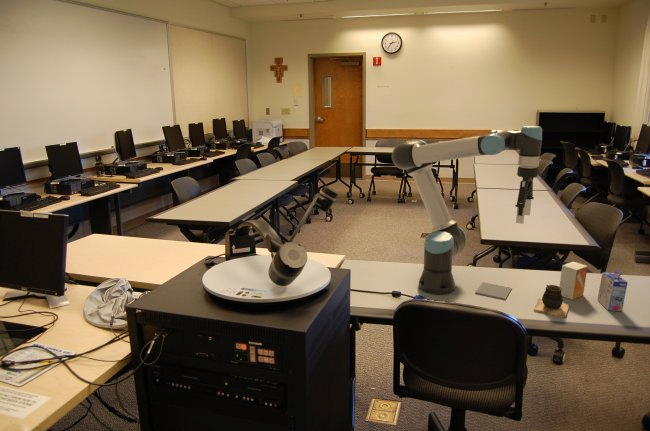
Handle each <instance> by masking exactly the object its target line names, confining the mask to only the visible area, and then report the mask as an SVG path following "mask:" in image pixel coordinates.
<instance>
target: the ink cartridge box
mask: <svg viewBox="0 0 650 431" xmlns="http://www.w3.org/2000/svg"><path fill="white" fill-rule="evenodd" d="M622 274H623V272H621V271H620V270H618V269H616V270H615V271H614V272H607V271H606V272H605V271H603V272H602V273H601V279H600V283H599V289H598V294H597V301H598V302H599V303H600V304H601V305H602V306H603V307H604V308H605V309H606V310H607V311H611V312H612V311H613V312H623V309H624V308H623V307H624V303H625V298H626V297H625V296H626V293H627V288H628V281H627V280H626V279H624V278H623V277H622V276H621V275H622Z"/></svg>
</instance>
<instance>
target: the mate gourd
mask: <svg viewBox="0 0 650 431" xmlns="http://www.w3.org/2000/svg"><path fill="white" fill-rule="evenodd" d="M561 292H562V288H561V287H560V285H555V284H546V286H545V291H544V293H543V294H542V297H541V299H542V301H543V304H544V305H545V306H546V307H547V308H550V309H558V308H560V307H561V305H562V303H564V297H563V296H562V295H561Z"/></svg>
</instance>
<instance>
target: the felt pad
mask: <svg viewBox="0 0 650 431" xmlns="http://www.w3.org/2000/svg"><path fill="white" fill-rule="evenodd" d="M511 291H512V287H511V286H510V287H509V286H505V285H499V284H494V283H489V282H481V284H480V285H479V287H478V288H477V289H476V291H475V294H477V295H480V296H481V295H482V296H486V297H490V298H494V299H500V300H504V301H505V300H507V298H508V296H509V294H510V292H511Z"/></svg>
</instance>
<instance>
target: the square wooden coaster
mask: <svg viewBox="0 0 650 431" xmlns="http://www.w3.org/2000/svg"><path fill="white" fill-rule="evenodd" d="M569 308H570V304H568V303H564V302H563V303H562V305H561V307H560V308H558V309H550V308H547V307H546V306H545V305H544V304H543V301H542V298H538V300H537V302H536V304H535V306H534V308H533V312H537V313H540V314H541V313H542V314H546V315H551V316H556V317H561V318H564V319H565V318H567V314H568V312H569Z"/></svg>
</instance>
